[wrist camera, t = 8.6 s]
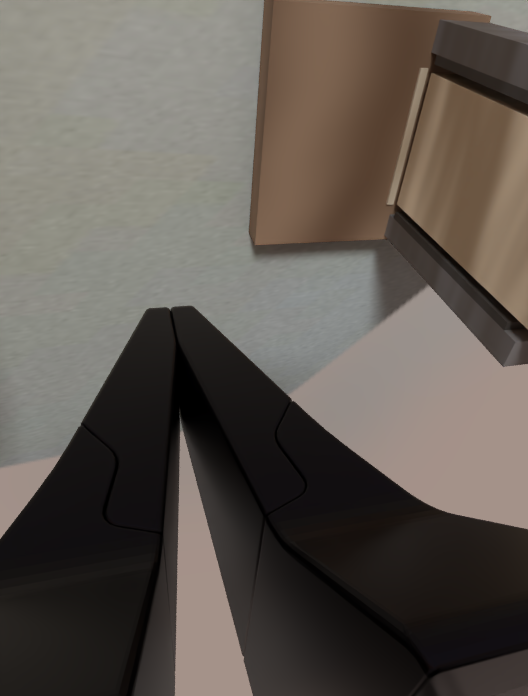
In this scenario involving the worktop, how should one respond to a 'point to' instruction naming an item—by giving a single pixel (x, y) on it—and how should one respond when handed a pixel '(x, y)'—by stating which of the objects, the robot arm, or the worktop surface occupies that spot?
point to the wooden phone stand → (371, 133)
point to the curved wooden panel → (474, 183)
